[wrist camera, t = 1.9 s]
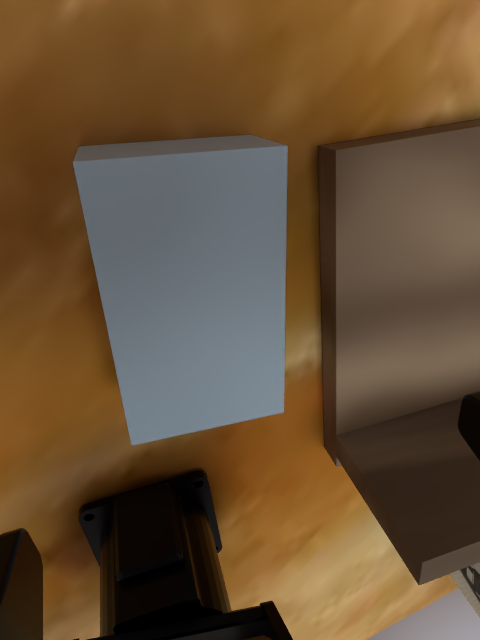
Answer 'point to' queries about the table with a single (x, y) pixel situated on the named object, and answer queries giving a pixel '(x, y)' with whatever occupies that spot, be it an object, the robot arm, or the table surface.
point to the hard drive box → (469, 584)
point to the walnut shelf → (404, 333)
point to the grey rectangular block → (190, 277)
